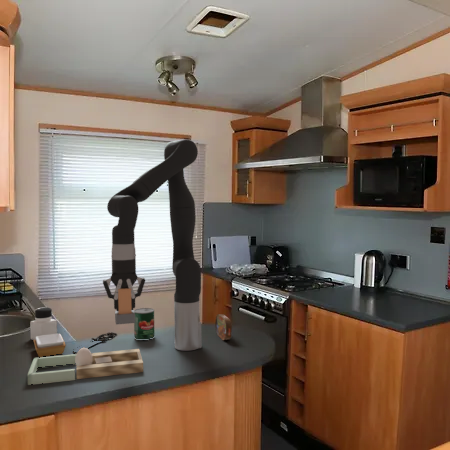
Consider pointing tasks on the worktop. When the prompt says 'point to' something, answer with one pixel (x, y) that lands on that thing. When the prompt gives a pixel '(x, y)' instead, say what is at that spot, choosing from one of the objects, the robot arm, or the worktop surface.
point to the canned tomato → (144, 323)
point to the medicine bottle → (43, 323)
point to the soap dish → (49, 345)
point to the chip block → (103, 360)
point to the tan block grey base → (124, 307)
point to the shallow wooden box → (112, 364)
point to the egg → (83, 357)
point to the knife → (104, 337)
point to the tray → (51, 375)
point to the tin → (223, 327)
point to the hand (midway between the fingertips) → (124, 309)
